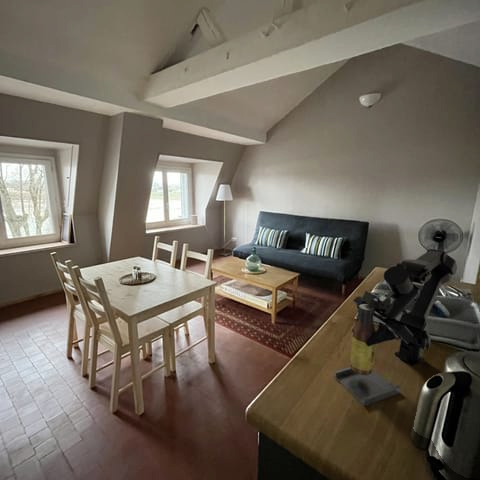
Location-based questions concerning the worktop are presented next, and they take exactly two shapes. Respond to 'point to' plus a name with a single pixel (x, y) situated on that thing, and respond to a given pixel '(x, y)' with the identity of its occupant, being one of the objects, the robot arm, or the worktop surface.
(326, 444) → the worktop surface
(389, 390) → the floor track
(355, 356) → the sauce bottle
